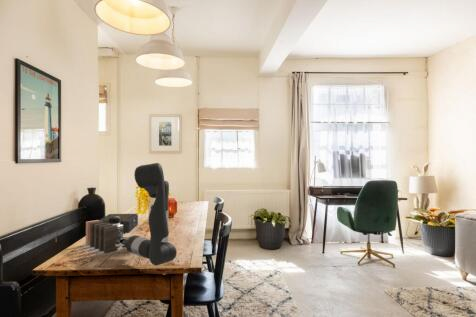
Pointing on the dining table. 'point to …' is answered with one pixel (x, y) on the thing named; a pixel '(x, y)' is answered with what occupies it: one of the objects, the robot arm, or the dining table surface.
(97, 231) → the tile
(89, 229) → the tile
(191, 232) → the dining table surface
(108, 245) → the tile
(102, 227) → the tile
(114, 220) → the medicine bottle
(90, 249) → the felt strip
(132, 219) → the cash box
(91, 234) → the tile
